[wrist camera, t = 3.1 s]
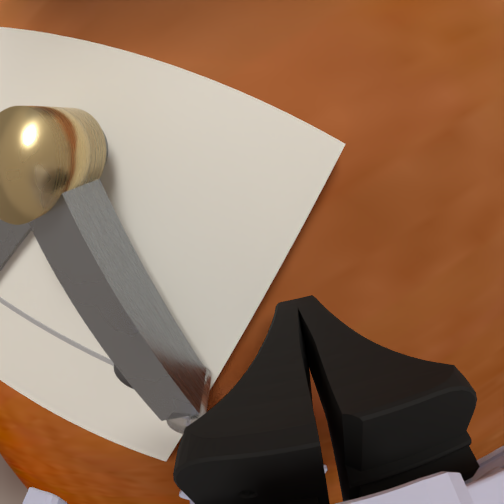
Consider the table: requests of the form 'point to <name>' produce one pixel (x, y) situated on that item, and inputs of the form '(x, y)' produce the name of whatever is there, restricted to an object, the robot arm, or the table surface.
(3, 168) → the divider leg
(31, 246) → the plate
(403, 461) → the robot arm
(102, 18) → the table surface
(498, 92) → the table surface
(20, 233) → the divider fixed leg
